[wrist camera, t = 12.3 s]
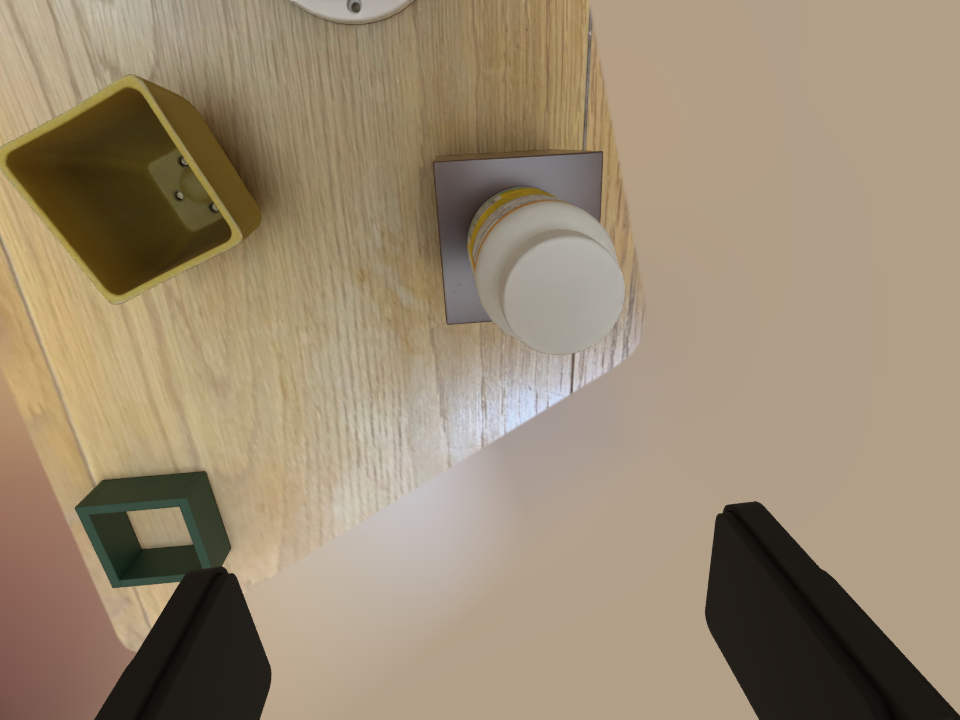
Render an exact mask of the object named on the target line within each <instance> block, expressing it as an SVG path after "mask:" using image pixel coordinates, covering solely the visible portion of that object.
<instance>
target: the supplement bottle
mask: <svg viewBox="0 0 960 720" xmlns="http://www.w3.org/2000/svg"><path fill="white" fill-rule="evenodd" d="M467 250H468V256H469V260H470V265H471V268H472V272H473V276H474V280H475V284H476V289H477V293H478V296H479V299H480V302H481V304H482V306H483V308H484V310H485V312H486V313H487V315H488V316H489V317H490V319H491V320H492V321H493V322H494V323H495V324H496V325H497V326H498V327H499V328H500V329H501V330H503V331H504V332H506V333H507V334H509V335H511V336H512V337H515V338H517V339H519V340H520V341H521V342H522V343H524V344H525V345H526V346H528V347H530V348H532V349H533V350H536V351H538V352H541V353H545V354H551V355H567V354H573V353H576V352H580V351H583V350H585V349H587V348H589V347H591V346H592V345H594V344H596V343H597V342H599V341H600V340H601V339H602V338H604V337H605V336H606V335H607V334H608V332H609V331H610V330H611V329H612V327H613V326H614V325H615V323H616V321H617V320H618V318H619V316H620V313H621V310H622V307H623V304H624V298H625V284H624V278H623V273H622V271H621V269H620V267H619V265H618V262H617V255H616V251H615V248H614V245H613V242H612V240H611V238H610V236H609V235H608V233H607V231H606V230H605V229H604V227H603V226H602V225H601V224H600V223H599V222H598V221H597V220H596V219H595V218H594V217H593V216H592V215H590V214H589V213H587V212H586V211H584V210H583V209H581V208H579V207H577V206H574V205H572V204H570V203H568V202H566V201H564V200H562V199H560V198H558V197H556V196H554V195H552V194H550V193H548V192H546V191H543V190H540V189H537V188H532V187H515V188H511V189H507V190H505V191H502V192H500V193H498V194H496V195H494V196H493V197H491V198H490V199H489V200H488V201H486V202H485V203H484V204H483V206H482V207H481V208H480V209H479V210H478V212H477V213H476V215H475V217H474V218H473V220H472V223H471V226H470V228H469V232H468V238H467Z"/></svg>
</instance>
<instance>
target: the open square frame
mask: <svg viewBox="0 0 960 720" xmlns="http://www.w3.org/2000/svg"><path fill="white" fill-rule="evenodd" d="M179 506H180V509H181V512H182V514H183V517H184V520H185V523H186V525H187V528H188V531H189V533H190V536H191V539H192V542H193V544H194V545H191V546H180V547H169V548H158V549H147V550H141V548H140V545H139V543H138V541H137V538H136V536H135V534H134V531H133V529H132V526H131V524H130V522H129V519H128V517H127V515H126V512H125V511H136V510H147V509H159V508H170V507H179ZM75 510H76V512H77V514H78V516H79V518H80V520H81V522H82V524H83V526H84V529H85V531H86V533H87V535H88V537H89V539H90V541H91V543H92V545H93V547H94V550H95V552H96V554H97V556H98V558H99V560H100V562H101V564H102V566H103V568H104V571H105V573H106V575H107V577H108V579H109V581H110V583H111V585H112V587H113V588H119V587H130V586H140V585H151V584H161V583H172V582H181V580H182V579H183V577H184V576H185V575H186V573H187V572H189V571H190V570H196V569H205V568H213V567H222V565H223V563H224V561H225V559H226V557H227V555H228V553H229V551H230V550H231V546H230V543H229V540H228V537H227V534H226V531H225V528H224V525H223V522H222V519H221V516H220V513H219V510H218V507H217V504H216V501H215V498H214V495H213V492H212V489H211V486H210V483H209V480H208V477H207V474H206V472H197V473H196V472H195V473H183V474H172V475H160V476H148V477H137V478H125V479H114V480H103V481H101V482H100V483H99V484H98V485H97V486H96V487H95V488H94V489H93V490H92V491H91V492H90V493H89V494H88V495H87V496H86V497H85V498H84V499H83V500H82V501H81V502H80V503H79V504H78V505H77V506H76V507H75Z"/></svg>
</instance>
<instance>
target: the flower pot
mask: <svg viewBox="0 0 960 720" xmlns="http://www.w3.org/2000/svg"><path fill="white" fill-rule="evenodd" d="M182 157H184V159H185V160H186V162H187V163H188V165H187V166H183V165H181V163H180V159H181V158H182ZM0 171H1V172H2V173H3V174H4V176H5V177H6V178H7V179H8V181H9V182H10V183H11V184H12V185H13V186H14V188H15V189H16V190H17V191H18V193H19V194H20V195H21V196H22V198H23V199H24V200H25V201H26V202H27V203H28V205H29V206H30V207H31V208H32V209H33V210H34V212H35V213H36V214H37V215H38V216H39V218H40V219H41V220H42V221H43V223H44V224H45V225H46V226H47V228H48V229H49V230H50V231H51V232H52V234H53V235H54V236H55V237H56V238H57V240H58V241H59V242H60V243H61V245H62V246H63V247H64V248H65V250H66V251H67V252H68V253H69V254H70V256H71V257H72V258H73V259H74V260H75V262H76V263H77V264H78V266H79V267H80V268H81V270H82V271H83V272H84V273H85V275H86V276H87V277H88V278H89V279H90V280H91V282H92V283H93V284H94V285H95V287H96V288H97V289H98V290H99V291H100V293H101V294H102V295H103V296H104V297H105V298H106V299H107V300H108V301H109V302H110V303H111V304H113V305H117V304H122V303H124V302H126V301H128V300H130V299H132V298H134V297H135V296H137V295H139V294H141V293H143V292H145V291H147V290H149V289H151V288H153V287H155V286H156V285H158V284H160V283H162V282H164V281H166V280H168V279H170V278H172V277H174V276H176V275H178V274H180V273H182V272H184V271H186V270H188V269H190V268H192V267H194V266H196V265H198V264H200V263H202V262H204V261H206V260H208V259H210V258H213V257H215V256H217V255H219V254H221V253H223V252H225V251H227V250H229V249H231V248H233V247H235V246H236V245H238V244H240V243H241V242H242V241H243V240H245V239H246V238H247V237H248V236H249V235H250V234H251V233H252V232H253V231H254V230H255V229H256V228H257V227H258V226H259V224H260V222H261V212H260V209H259V207H258V205H257V204H256V202H255V200H254V199H253V197H252V196H251V194H250V193H249V191H248V189H247V188H246V186H245V185H244V183H243V182H242V180H241V178H240V177H239V175H238V174H237V172H236V170H235V169H234V167H233V166H232V164H231V163H230V161H229V159H228V158H227V156H226V154H225V153H224V151H223V150H222V148H221V146H220V145H219V143H218V142H217V140H216V138H215V137H214V135H213V134H212V132H211V130H210V129H209V127H208V125H207V124H206V122H205V120H204V119H203V117H202V116H201V115H200V113H199V112H198V111H197V110H196V108H195V107H194V106H193V105H192V104H191V103H190V102H188V101H187V100H186V99H184V98H183V97H181V96H179V95H178V94H175V93H173V92H171V91H169V90H167V89H165V88H163V87H160V86H158V85H156V84H154V83H152V82H149V81H147V80H145V79H142V78H141V77H139V76H136V75H133V74H129V75H126V76H124V77H122V78H120V79H118V80H117V81H115V82H113V83H112V84H110V85H108V86H107V87H105V88H104V89H102V90H101V91H99V92H98V93H96V94H95V95H93V96H91V97H89V98H88V99H86V100H84V101H83V102H81V103H80V104H78V105H76V106H75V107H73V108H72V109H70V110H68V111H67V112H65V113H63V114H61V115H59V116H58V117H56V118H54V119H52V120H50V121H48V122H46V123H44V124H43V125H41V126H39V127H37V128H35V129H33V130H31V131H29V132H28V133H26V134H24V135H22V136H20V137H19V138H17V139H15V140H13V141H10V142H8V143H6V144H5V145H3V146H1V147H0ZM177 191H180V192H182V193H183V196H184V198H183V200H179V199H177V198H176V195H175V193H176V192H177ZM213 203H214V204H215V205H216V207H217V208H218V211H217V212H214V211H212V210H211V208H210V206H211V204H213Z"/></svg>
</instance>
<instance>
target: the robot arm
mask: <svg viewBox="0 0 960 720" xmlns="http://www.w3.org/2000/svg"><path fill="white" fill-rule="evenodd" d="M290 1H291V2H293V3H294V4H296V5H297V6H298V7H300V8H301V9H303V10H304V11H306V12H309V13H311V14H313V15H315V16H317V17H320V18H322V19H325V20H329V21H333V22H338V23H342V24H366V23H370V22H375V21H379V20H383V19H385V18H387V17H390V16H392V15H394V14H396V13H398V12H400V11H401V10H403V9H404V8H405V7H407V6H408V5H409V4H410V3H412V2H413V1H414V0H290ZM354 4H359V5H360V11H359V12H357V13H356V12H353V10H352V8H353V5H354ZM705 616H706V621H707V625H708V628H709V630H710V632H711V634H712V636H713V638H714V639H715V641H716V643H717V645H718V647H719V648H720V650H721V652H722V654H723V656H724V657H725V659H726V661H727V663H728V665H729V666H730V668H731V670H732V672H733V673H734V675H735V677H736V679H737V681H738V682H739V684H740V686H741V688H742V689H743V691H744V693H745V695H746V697H747V699H748V700H749V702H750V704H751V706H752V707H753V709H754V711H755V713H756V715H757V717H758V718H759V720H960V715H959V714H958V713H957V712H956V711H955V710H954V709H953V708H952V707H951V706H950V705H949V703H948V702H947V701H946V700H945V699H944V698H943V697H942V696H941V695H940V694H939V693H938V691H937V690H936V689H935V688H934V687H933V686H932V685H931V684H930V683H929V682H928V681H927V679H926V678H925V677H924V676H923V675H922V674H921V673H920V672H919V671H918V670H917V669H916V667H915V666H914V665H913V664H912V663H911V662H910V661H909V660H908V659H907V658H906V657H905V655H904V654H903V653H902V652H901V651H900V650H899V649H898V648H897V647H896V646H895V645H894V643H893V642H892V641H891V640H890V639H889V638H888V637H887V636H886V635H885V634H884V633H883V631H882V630H881V629H880V628H879V627H878V626H877V625H876V624H875V623H874V622H873V621H872V619H871V618H870V617H869V616H868V615H867V614H866V613H865V612H864V611H863V610H862V609H861V608H860V606H858V604H857V603H856V602H855V601H854V600H853V599H852V598H851V597H850V596H849V594H848V593H847V592H846V591H845V590H844V589H843V588H842V587H841V586H840V585H839V584H838V582H837V581H836V580H835V579H834V578H833V577H832V576H830V575H829V574H828V573H827V572H826V571H824V570H822V569H820V568H819V566H818V565H816V563H815V562H814V561H813V560H812V559H811V558H810V557H809V556H808V554H807V553H806V552H805V551H804V550H803V549H802V548H801V547H800V545H799V544H798V543H797V542H796V541H795V540H794V539H793V538H792V537H791V536H790V534H789V533H788V532H787V531H786V530H785V529H784V528H783V527H782V526H781V525H780V523H779V522H778V521H777V520H776V519H775V518H774V517H773V516H772V515H771V514H770V512H769V511H768V510H767V509H766V508H765V507H764V506H763V505H762V504H761V503H759V502H756V501H755V502H747V503H738V504H730V505H726V506H725V508H724V510H723V513H721V514H718V515H717V517H716V521H715V530H714V539H713V547H712V556H711V564H710V573H709V581H708V590H707V599H706V607H705ZM270 684H271V667H270V664H269V662H268V659H267V656H266V654H265V651H264V648H263V646H262V643H261V640H260V638H259V635H258V632H257V630H256V627H255V624H254V622H253V619H252V617H251V614H250V611H249V609H248V606H247V603H246V601H245V598H244V595H243V593H242V590H241V588H240V585H239V582H238V580H237V577H236V576H235V574H233V573H230V574H228V572H227V570H226V569H225V568H224V567H213V568H205V569H196V570H190V571H189V572H187V573H186V575H185V576H184V577H183V579H182V580H181V582H180V584H179V585H178V587H177V588H176V590H175V592H174V593H173V595H172V597H171V598H170V600H169V601H168V603H167V605H166V606H165V608H164V610H163V611H162V613H161V615H160V616H159V618H158V619H157V621H156V623H155V624H154V626H153V628H152V629H151V631H150V633H149V634H148V636H147V637H146V639H145V641H144V642H143V644H142V646H141V647H140V649H139V650H138V652H137V654H136V656H135V657H134V659H133V660H132V661H131V662H130V664H129V665H128V666H127V668H126V669H125V671H124V672H123V674H122V675H121V677H120V679H119V680H118V682H117V683H116V685H115V687H114V688H113V690H112V692H111V693H110V695H109V697H108V698H107V700H106V701H105V703H104V705H103V706H102V708H101V710H100V711H99V713H98V714H97V716H96V718H95V719H94V720H260V717H261V714H262V711H263V707H264V704H265V701H266V698H267V695H268V692H269V689H270Z"/></svg>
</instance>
